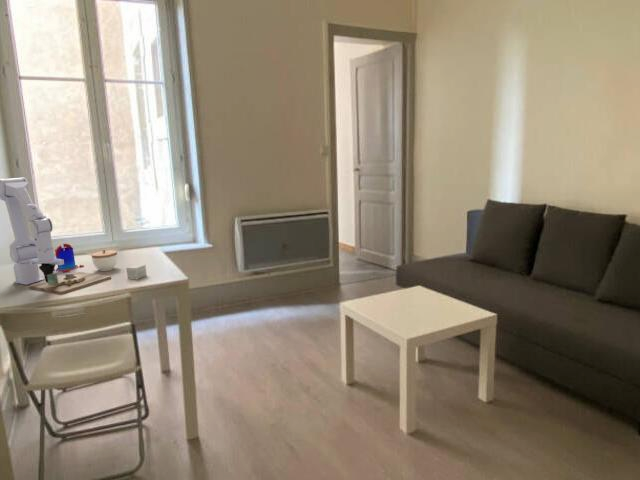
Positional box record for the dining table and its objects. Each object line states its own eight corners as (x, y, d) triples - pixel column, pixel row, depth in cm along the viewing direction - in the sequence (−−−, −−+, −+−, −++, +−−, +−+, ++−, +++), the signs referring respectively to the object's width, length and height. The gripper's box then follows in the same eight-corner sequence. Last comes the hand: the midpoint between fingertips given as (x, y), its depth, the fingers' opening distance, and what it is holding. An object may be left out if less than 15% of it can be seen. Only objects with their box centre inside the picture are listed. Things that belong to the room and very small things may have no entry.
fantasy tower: (65, 272, 208) (61, 247, 206) (46, 271, 212) (42, 246, 210) (86, 266, 219) (83, 241, 217) (68, 264, 223) (64, 240, 221)
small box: (137, 274, 200) (135, 264, 199) (147, 275, 198) (145, 264, 197) (127, 278, 195) (125, 267, 194) (137, 279, 193) (136, 268, 192)
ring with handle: (71, 275, 198) (69, 264, 197) (91, 277, 194) (89, 265, 193) (40, 286, 184) (38, 274, 183) (61, 287, 180) (59, 275, 179)
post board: (28, 287, 187) (26, 278, 186) (78, 273, 206) (76, 265, 205) (62, 294, 177) (60, 284, 176) (111, 278, 196) (109, 269, 195)
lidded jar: (88, 271, 209) (85, 251, 207) (107, 265, 219) (104, 246, 217) (106, 273, 205) (103, 252, 203) (124, 267, 215) (121, 247, 213)
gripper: (21, 250, 179) (26, 284, 182) (52, 251, 176) (57, 285, 179) (35, 246, 186) (41, 278, 189) (65, 247, 183) (70, 280, 186)
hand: (50, 281), depth 184 cm, fingers closed, pressing on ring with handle
